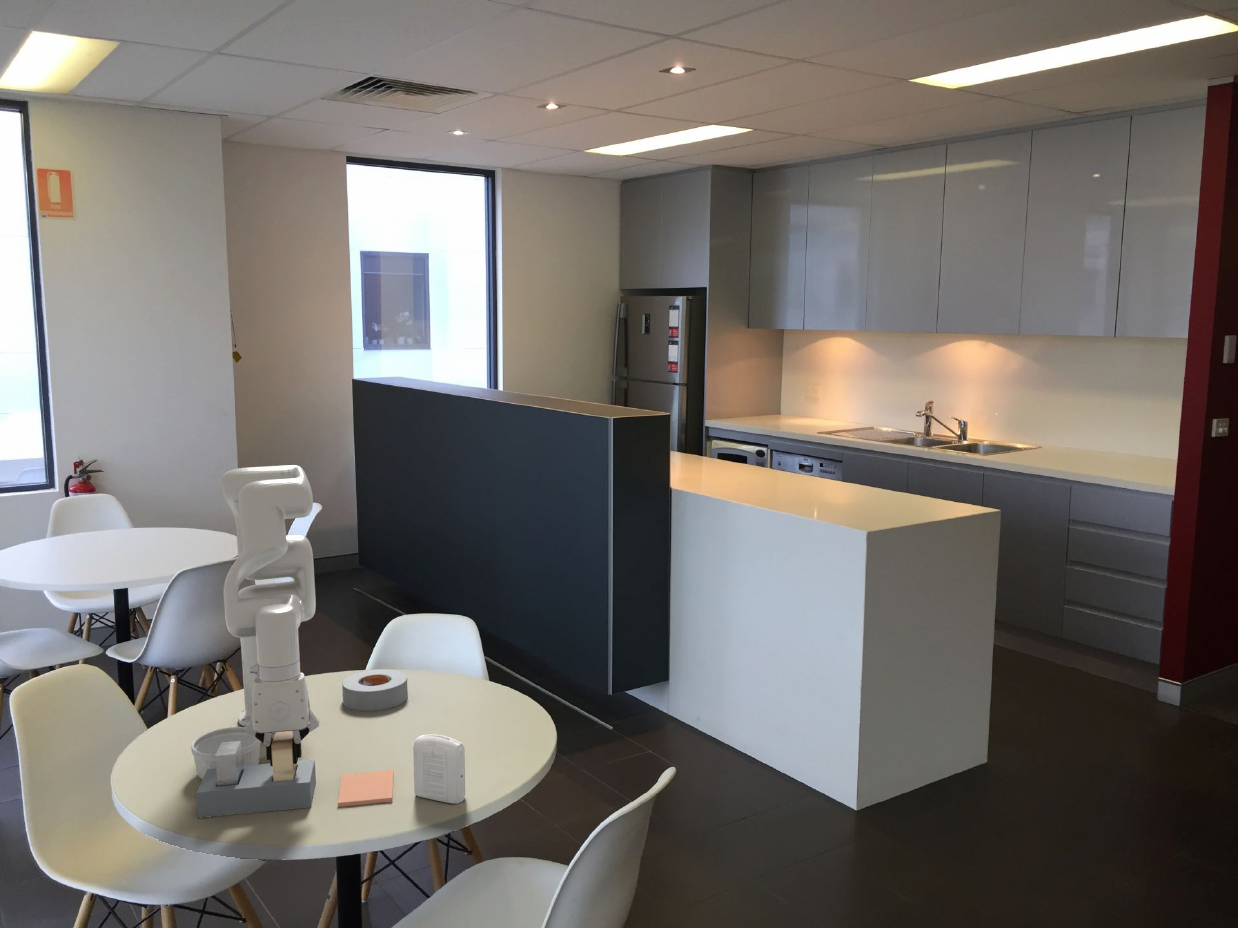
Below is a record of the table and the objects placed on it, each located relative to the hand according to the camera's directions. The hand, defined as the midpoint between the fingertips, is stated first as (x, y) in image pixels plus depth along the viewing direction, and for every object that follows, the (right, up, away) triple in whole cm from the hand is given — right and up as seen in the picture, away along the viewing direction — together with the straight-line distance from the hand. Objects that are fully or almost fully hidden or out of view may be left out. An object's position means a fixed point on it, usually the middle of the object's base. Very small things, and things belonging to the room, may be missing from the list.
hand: (284, 761), depth 190 cm
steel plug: (-10, -8, -1) cm, 12 cm away
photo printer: (+30, -7, +1) cm, 31 cm away
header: (-5, -7, 0) cm, 9 cm away
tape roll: (+5, 0, +51) cm, 51 cm away
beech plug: (0, -6, +1) cm, 6 cm away
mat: (+15, -7, +4) cm, 17 cm away
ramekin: (-16, -6, +12) cm, 21 cm away
